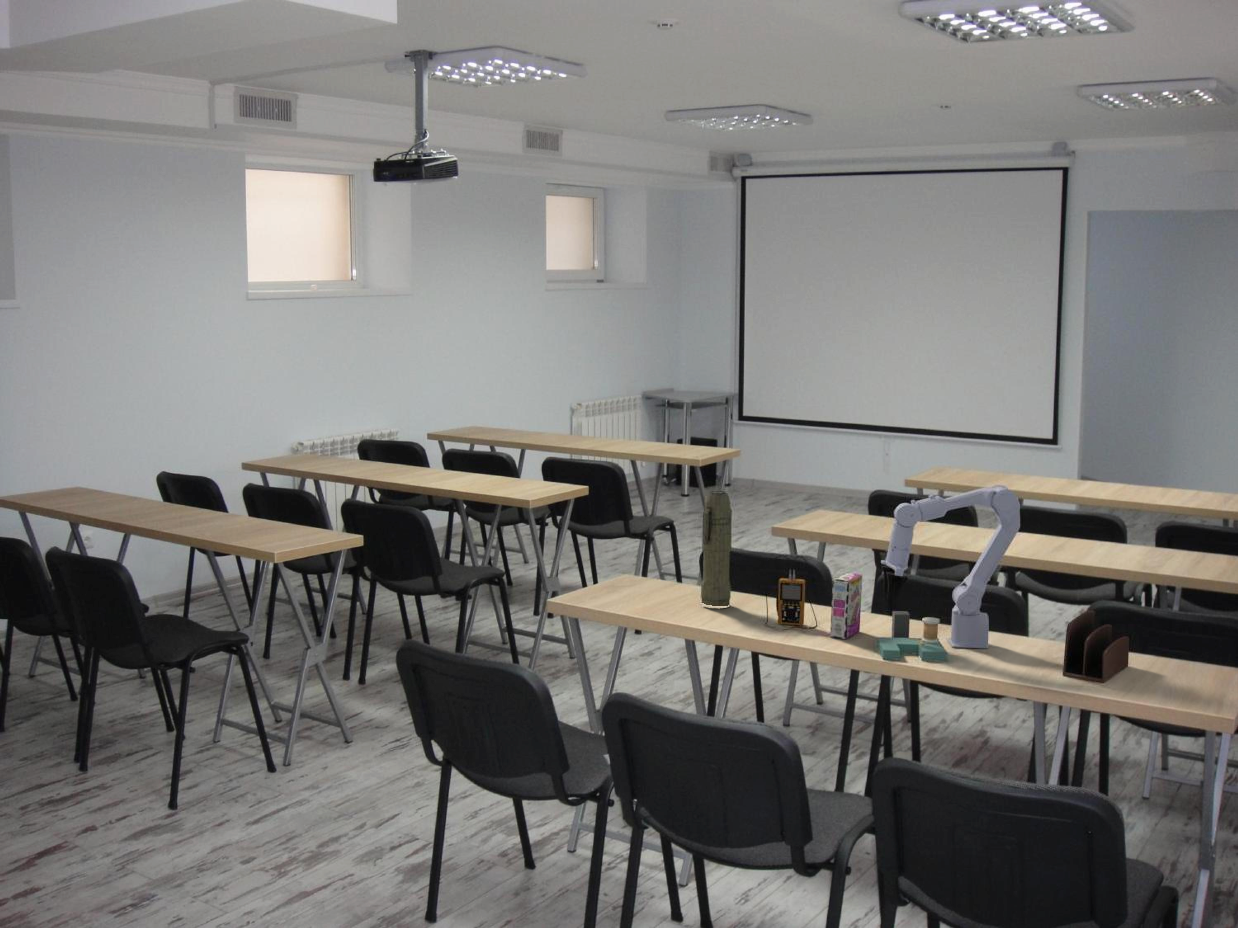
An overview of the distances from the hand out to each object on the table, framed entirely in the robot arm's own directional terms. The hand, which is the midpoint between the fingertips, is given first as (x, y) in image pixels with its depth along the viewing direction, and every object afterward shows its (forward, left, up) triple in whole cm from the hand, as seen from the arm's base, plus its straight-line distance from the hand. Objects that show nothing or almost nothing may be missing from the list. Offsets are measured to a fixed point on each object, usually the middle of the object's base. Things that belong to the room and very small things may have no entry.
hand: (889, 596), depth 328 cm
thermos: (+47, -36, -13) cm, 60 cm away
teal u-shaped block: (-4, +12, -13) cm, 18 cm away
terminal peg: (-3, 0, -13) cm, 13 cm away
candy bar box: (+11, -6, -13) cm, 18 cm away
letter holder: (-48, +23, -13) cm, 55 cm away
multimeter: (+26, -12, -13) cm, 31 cm away
